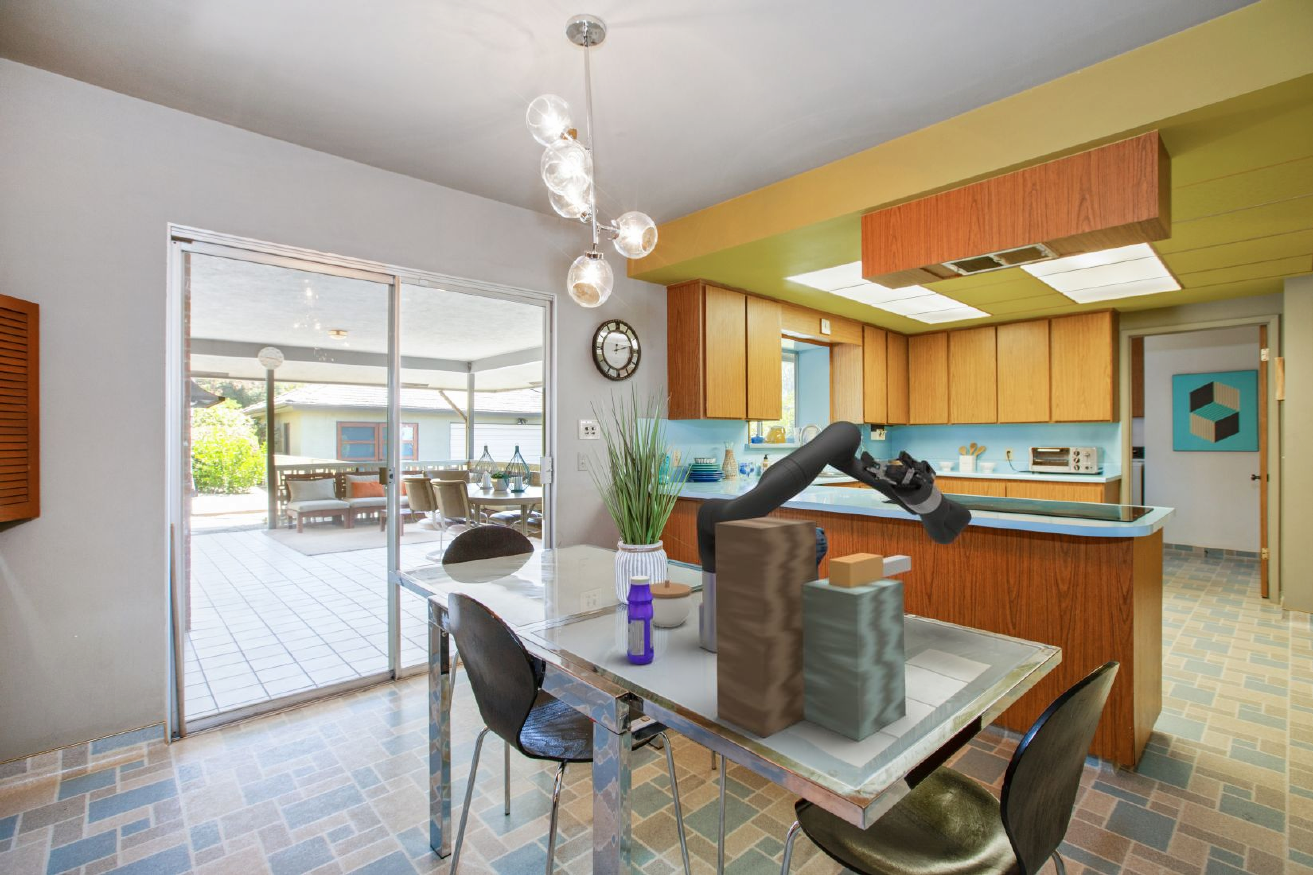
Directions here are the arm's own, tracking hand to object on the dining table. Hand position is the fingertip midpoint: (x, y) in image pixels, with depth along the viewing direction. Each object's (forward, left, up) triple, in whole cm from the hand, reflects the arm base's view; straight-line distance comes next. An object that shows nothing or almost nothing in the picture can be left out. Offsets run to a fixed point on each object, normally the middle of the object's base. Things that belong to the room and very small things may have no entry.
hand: (881, 454), depth 123 cm
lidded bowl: (-54, +4, -43) cm, 69 cm away
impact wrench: (-22, +22, -43) cm, 53 cm away
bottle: (-46, -22, -43) cm, 66 cm away
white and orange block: (+2, -22, -21) cm, 31 cm away
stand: (-7, -31, -43) cm, 53 cm away
